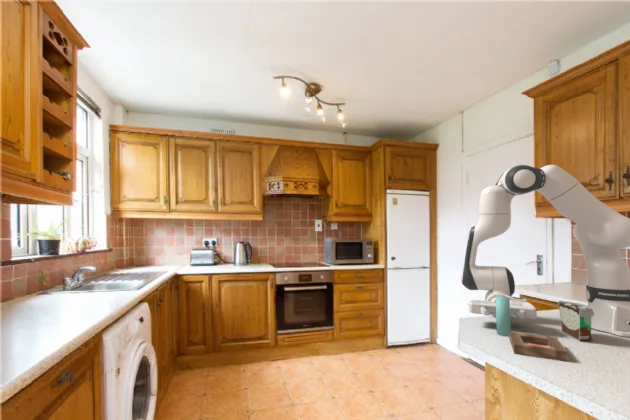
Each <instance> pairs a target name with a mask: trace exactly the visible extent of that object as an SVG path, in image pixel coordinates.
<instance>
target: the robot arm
mask: <svg viewBox="0 0 630 420" xmlns="http://www.w3.org/2000/svg"><path fill="white" fill-rule="evenodd" d="M534 191H536V192H537V193H539V194H541V195H542V196H543V197H544V198H545V199H546V200H547V201H548V202H549V203H550V204H551V205H552V206H553V207H554V209H556V210H557V211H558V212H559V213H560V214H561V216H562V217H564V218H566V219H568V220H569V221H571V222H573V223H575V225H574V226H573V229H572V235H573V238H574V239H575V240H576V241H577V242H578V245H579V247H580V250H581V254H582V256H583V260H584V263H585V271H586V280H587V281H586V282H587V283H586V285H585V287H586V288H585V297H586V300H587V306H590V307H591V309H592V310H593V312H594V316H591V329H594V330H598V331H601V332H605V333H609V334H612V335H617V336H618V337H619V336H620V337H626V338H628V337H629V338H630V267H629V264H628V263H627V261H625V259H624V258H623V256H622V254H621V251H620V249H626V248H630V218H629V217H628V216H625V215H623V214H621V213H620V212H618V211H616V210H615V209H613V208H612V207H610V206H608V204H606V203H605V202H602V201H601V200H599V199H598V198H597V197H596V196H594V195H593V194H592V193H591V192H590V191H589V190H588V189H587V187H586V188H585V187H584V185H583V184H581V182H580V181H578V179H577V178H575V177H574V176H572V174H570V173H569V172H567V171H566V170H565V169H563V168H562V167H560V166H558V165H556V164H547V165H544V166H542V167H540V168H538V167H533V166H531V165H527V164H517V165H515V166H513V167H510V168H508V169H506V170H505V171H504V172H503V173H502V174H501V175H500V177H498V180H497V181H496V184H495V185H489V186H487V187H485V188H483V189H482V190H481V191H480V195H479V201H478V202H479V203H478V220H477V222H476V223H475V225H474V226H472V227H471V228H470V230H469V233H468V239H467V244H466V249H465V255H464V264H463V267H462V269H461V273H460V280H461V281H460V282H461V285H463V286H464V287H465V288H466V289H468V290H469V291H479V290H480V291H486V293H485V297H484V300H482V299H481V300H480V299H472V300H470V301H469V302H468V304H467V305H468V307H469V313H470V314H476V315H484V316H492V317H495V318H496V302H495V297H507V298H509V303H510V319H511V318H512V319H513V318H514V319H515V318H516V319H517V320H518V319H519V320H524V319H525V320H537V318H538V316H537V315H538V314H537V308H536V306H535V305H533V304H532V303H530V302H528V300H527V299H526V298H522V297H515V296H513V295H514V294H515V290H516V284H515V278H514V274H513V273H512V271H511V270H510V269H509V268H508V267H506V266H500V265H499V266H496V265H491V266H490V265H489V266H488V265H477V264H476V259H477V251H478V247H479V245H480V244H481V243H482V242H484V241H487V240H489V239H492V238H493V239H494V238H496V237H498V236H502V235H503V234H504V233H506V232H507V231H508V230H509V229H510V227H511V223H512V222H511V221H512V214H511V213H512V211H511V210H512V209H511V204H512V200H513V198H515V196H522V195H525V194H528V193H532V192H534Z"/></svg>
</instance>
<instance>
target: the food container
mask: <svg viewBox="0 0 630 420" xmlns="http://www.w3.org/2000/svg"><path fill="white" fill-rule="evenodd" d="M557 307H558V310H559V319H560V326H561V328H560V329H561V332H562V333H563V332H564V333H563V334H566V335H568V336H569V337H571V338H573V339H574V340H577V341H578V342H590V341H591V339H592V336H591V335H592V328H591V316H594V312H593V310H592V309H591V307H590V306H588V304H583V303H579V302H571V301H566V300H565V301H562V300H560V301H559V300H558V303H557Z"/></svg>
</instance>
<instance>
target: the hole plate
mask: <svg viewBox="0 0 630 420" xmlns="http://www.w3.org/2000/svg"><path fill="white" fill-rule="evenodd" d="M508 338H509V339H508V340H509V342H510V345H511V348H512V352H513V354H514V355H515V354H516V355H520V356H528V357H535V358H540V359H541V358H543V359H549V360H554V359H555V360H556V361H562V362H569V352H568V350H567V349H566V348H565V347H564V345H563V344H562V342H560V340H559V339H558V338H557V337H556V336H547V335H539V334H530V333H523V332H515V331H514V332H513V331H511V332H509V337H508Z"/></svg>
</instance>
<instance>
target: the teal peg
mask: <svg viewBox="0 0 630 420" xmlns="http://www.w3.org/2000/svg"><path fill="white" fill-rule="evenodd" d="M495 302H496V317H495V318H496V320H495V321H496V334H497V336H501V337H506V336H509V332H512V326H511V325H512V324H511V323H512V322H511V318H510V303H509V298H507V297H495Z"/></svg>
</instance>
